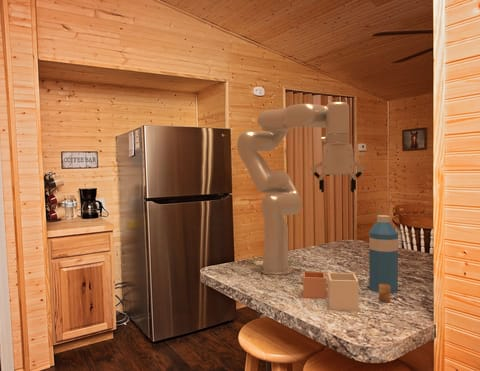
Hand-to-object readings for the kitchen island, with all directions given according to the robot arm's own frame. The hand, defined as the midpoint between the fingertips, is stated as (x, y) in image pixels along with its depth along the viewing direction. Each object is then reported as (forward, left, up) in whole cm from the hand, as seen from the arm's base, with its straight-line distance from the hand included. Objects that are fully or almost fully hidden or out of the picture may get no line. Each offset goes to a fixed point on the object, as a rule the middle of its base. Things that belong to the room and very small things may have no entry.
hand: (337, 191), depth 122 cm
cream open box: (0, -15, -33) cm, 36 cm away
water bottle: (+15, +2, -33) cm, 37 cm away
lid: (+13, -10, -34) cm, 37 cm away
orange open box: (-8, -7, -33) cm, 35 cm away
